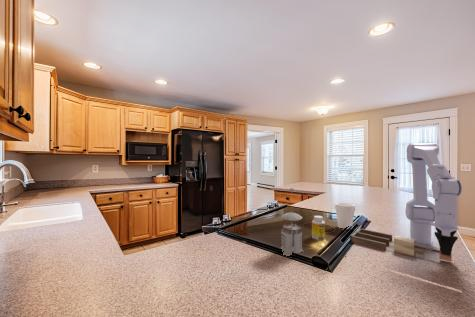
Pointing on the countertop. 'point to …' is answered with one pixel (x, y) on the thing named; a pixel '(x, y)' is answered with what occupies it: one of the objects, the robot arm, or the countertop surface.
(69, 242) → the countertop surface
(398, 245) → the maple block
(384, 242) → the lane shelf
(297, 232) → the french press
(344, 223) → the foam cup
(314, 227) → the supplement bottle
